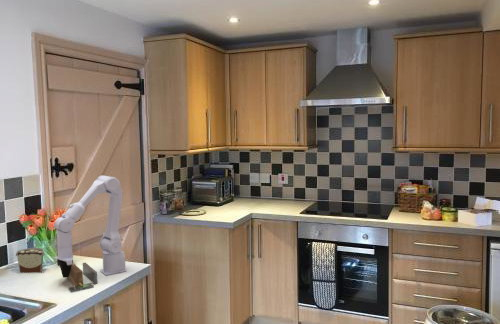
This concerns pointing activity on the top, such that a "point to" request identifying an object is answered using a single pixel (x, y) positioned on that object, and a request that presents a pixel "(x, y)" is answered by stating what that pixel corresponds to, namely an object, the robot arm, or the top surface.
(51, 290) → the top surface
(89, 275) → the gauge frame
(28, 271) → the food container
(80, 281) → the brown wooden block
